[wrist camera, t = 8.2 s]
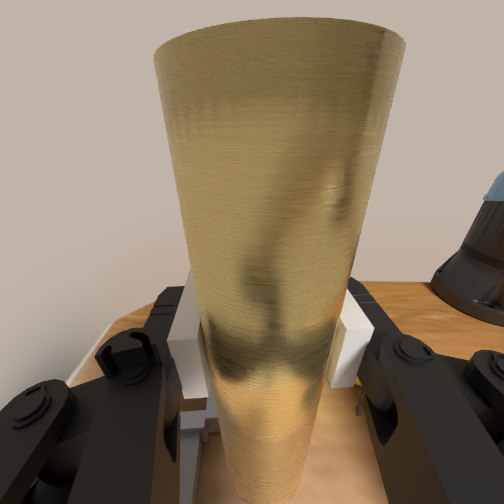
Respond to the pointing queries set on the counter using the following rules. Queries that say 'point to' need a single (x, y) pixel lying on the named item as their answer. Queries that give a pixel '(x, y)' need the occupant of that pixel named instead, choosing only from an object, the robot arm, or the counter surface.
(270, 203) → the link pin
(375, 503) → the counter surface
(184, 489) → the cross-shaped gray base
